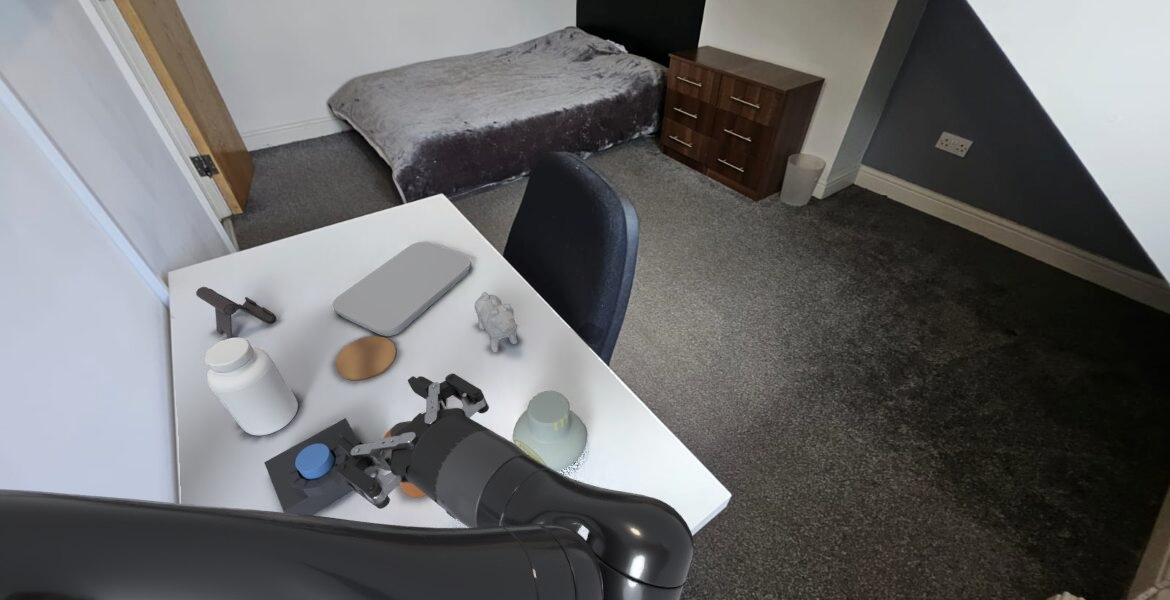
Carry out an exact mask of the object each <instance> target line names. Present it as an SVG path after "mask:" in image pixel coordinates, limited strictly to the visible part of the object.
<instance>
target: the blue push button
mask: <svg viewBox="0 0 1170 600" xmlns="http://www.w3.org/2000/svg"><path fill="white" fill-rule="evenodd" d="M333 464H334V457H333V455H332V453H331V452H330V450H329V448H328V447H327V446H326V445H324V444H313V445H310V446H308V447H306V448H305V449H303V450H302V451H301V452H300V453H299V454H298V456H297V458H296V461H295V465H296V468H297V469H298V470H299V472H300V473H301V474H302V476H303V477H304V478H306V479H311V480H312V479H318V478H320V477H322V476H324V475H325V474H327V473H328V472H329V471H330V470H331V468H332V467H333Z"/></svg>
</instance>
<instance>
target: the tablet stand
mask: <svg viewBox="0 0 1170 600" xmlns="http://www.w3.org/2000/svg"><path fill="white" fill-rule="evenodd" d="M195 295H196V296H197V297H198V298H199V299H200V300H202V301H204V302H205V303H207V304H209V305H210V306H212V307H213V308H214V311H215V325H216V332H217V334H219V335H223V331H224V332H225V334H226V339H229V338H233V321H232V320H233V319H232V315H234V314H235V313H236V312H237V311H239V310H241V311H243V312H245V313H247V314H248V315H250V316H252V317H254V318H256V319H257V320H260V321H261V322H263V323H265V324H267V325H273V324H275V323H276V321H277V319H278V318H277V317H278V316H276V314H274V312H272V311H271V310H270V309H268V308H266V307H263V306H260V305H259V304H258V303H257V302H256V301H254V300H252V299H250V298H249V297H247V296H245V297H244V300H245V302H244V303H243V304H240V303H237V302H235V301H233V300H231V299H229V298H228V297H226V296H225V295H222V294H220V293H218V292H217V291H215V289H212V288H209V287H207V286H201V287H199V288H198V289H197V290H196V292H195Z"/></svg>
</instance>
